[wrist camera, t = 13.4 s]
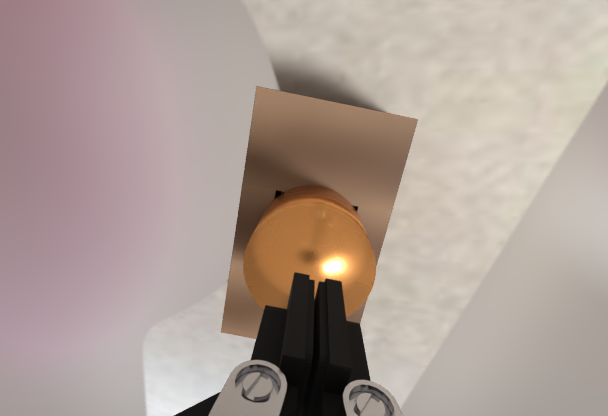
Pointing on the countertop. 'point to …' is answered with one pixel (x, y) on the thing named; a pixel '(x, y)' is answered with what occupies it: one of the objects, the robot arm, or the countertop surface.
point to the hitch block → (314, 175)
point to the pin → (309, 247)
